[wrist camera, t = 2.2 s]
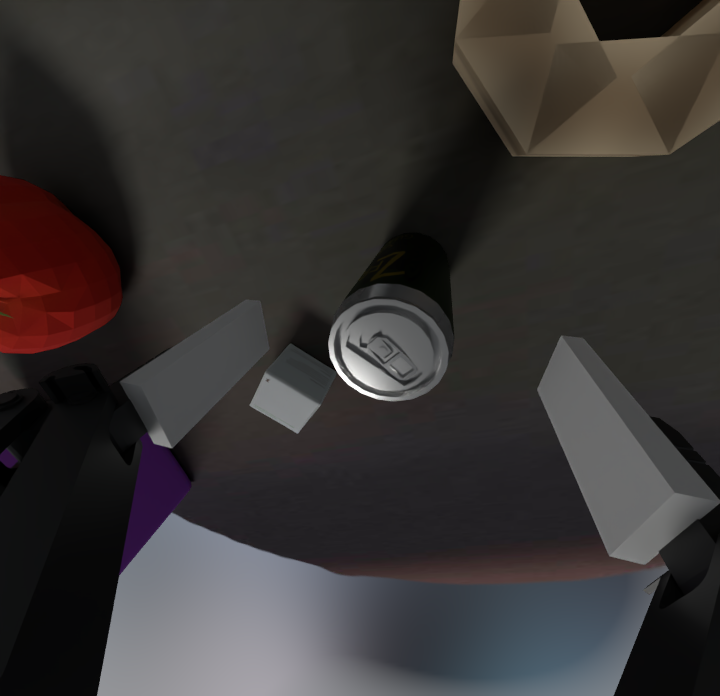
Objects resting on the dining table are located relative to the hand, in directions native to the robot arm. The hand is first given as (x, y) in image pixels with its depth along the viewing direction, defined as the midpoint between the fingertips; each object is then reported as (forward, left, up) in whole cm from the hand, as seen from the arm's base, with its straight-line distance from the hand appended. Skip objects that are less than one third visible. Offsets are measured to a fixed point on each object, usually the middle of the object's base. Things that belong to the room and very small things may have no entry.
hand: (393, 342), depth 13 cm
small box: (+12, -10, -11) cm, 19 cm away
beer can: (0, 0, -11) cm, 11 cm away
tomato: (+1, -32, -11) cm, 34 cm away
